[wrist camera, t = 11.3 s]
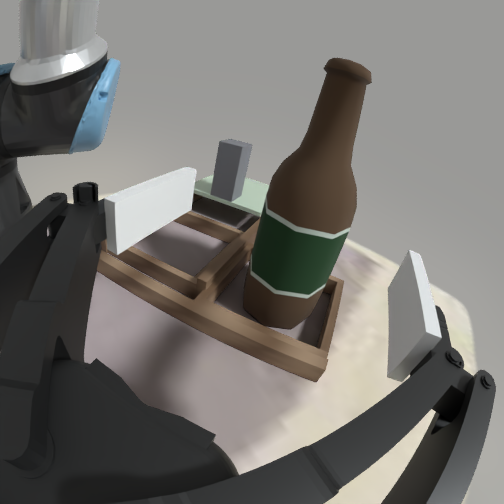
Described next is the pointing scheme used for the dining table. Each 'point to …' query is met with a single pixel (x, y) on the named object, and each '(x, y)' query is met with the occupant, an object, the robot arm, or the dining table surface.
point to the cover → (233, 179)
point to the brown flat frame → (207, 291)
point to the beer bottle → (308, 206)
